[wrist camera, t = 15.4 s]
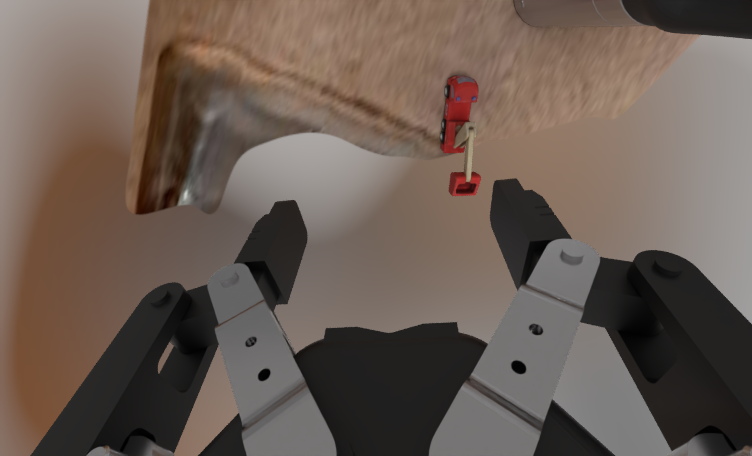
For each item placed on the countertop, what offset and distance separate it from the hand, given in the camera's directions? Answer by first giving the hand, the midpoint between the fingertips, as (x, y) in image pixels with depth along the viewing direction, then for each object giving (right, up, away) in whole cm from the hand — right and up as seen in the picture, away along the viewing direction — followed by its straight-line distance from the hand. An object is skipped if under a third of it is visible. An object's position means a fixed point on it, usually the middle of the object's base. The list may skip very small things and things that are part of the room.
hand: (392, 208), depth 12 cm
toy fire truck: (+10, +14, +32) cm, 37 cm away
